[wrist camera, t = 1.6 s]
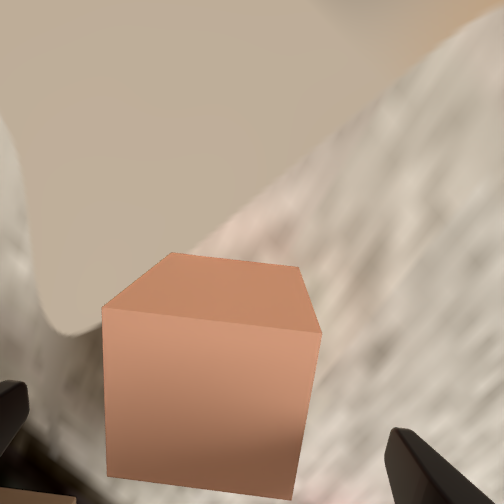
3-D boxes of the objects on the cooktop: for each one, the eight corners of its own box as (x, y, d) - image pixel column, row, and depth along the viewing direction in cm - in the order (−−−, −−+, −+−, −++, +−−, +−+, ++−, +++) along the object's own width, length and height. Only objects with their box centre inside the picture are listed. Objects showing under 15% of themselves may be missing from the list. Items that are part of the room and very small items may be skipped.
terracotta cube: (281, 375, 13) (291, 500, 8) (167, 362, 13) (107, 476, 8) (298, 266, 11) (322, 333, 6) (171, 252, 11) (101, 307, 7)
